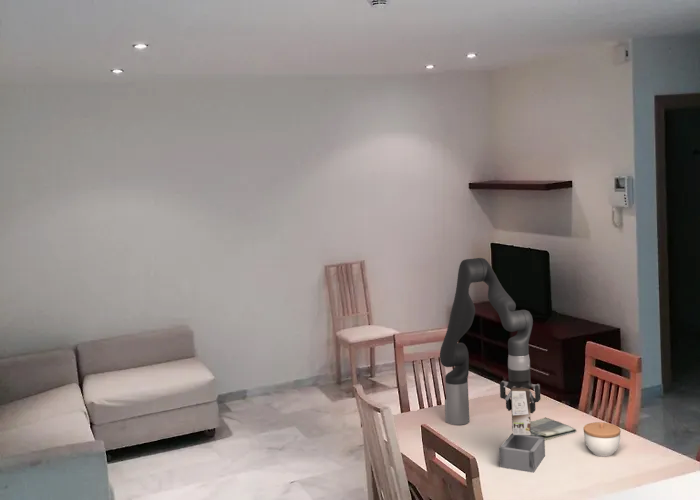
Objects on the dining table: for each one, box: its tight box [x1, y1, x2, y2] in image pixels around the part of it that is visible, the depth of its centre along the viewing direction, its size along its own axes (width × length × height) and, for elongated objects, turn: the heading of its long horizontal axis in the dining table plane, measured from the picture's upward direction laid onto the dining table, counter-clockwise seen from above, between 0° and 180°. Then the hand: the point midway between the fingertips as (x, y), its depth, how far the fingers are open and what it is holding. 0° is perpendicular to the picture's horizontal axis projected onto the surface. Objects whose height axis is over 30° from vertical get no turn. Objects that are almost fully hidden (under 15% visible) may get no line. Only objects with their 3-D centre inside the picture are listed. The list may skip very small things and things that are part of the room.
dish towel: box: [529, 417, 577, 441], centre depth 281 cm, size 19×18×3 cm
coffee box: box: [510, 387, 532, 435], centre depth 251 cm, size 9×6×16 cm
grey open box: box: [498, 432, 546, 473], centre depth 253 cm, size 12×15×7 cm
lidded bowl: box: [583, 421, 621, 457], centre depth 256 cm, size 13×13×11 cm
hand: (520, 411), depth 251 cm, fingers closed on coffee box, 7 cm apart
